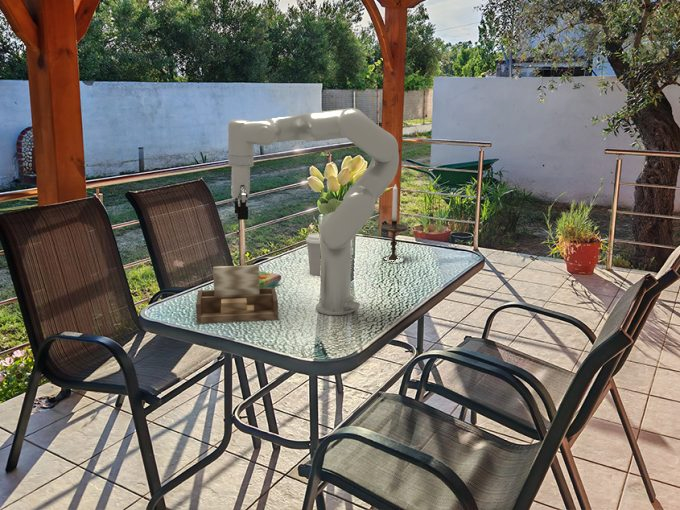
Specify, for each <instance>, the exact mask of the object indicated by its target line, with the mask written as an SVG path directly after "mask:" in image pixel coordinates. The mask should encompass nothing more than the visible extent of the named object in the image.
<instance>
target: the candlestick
mask: <svg viewBox="0 0 680 510" xmlns="http://www.w3.org/2000/svg"><path fill="white" fill-rule="evenodd" d="M397 180H398V178H397V177H395V178H394V181H393V182H394V186H393V187H392V209H391V210H392V211H391V212H392V213H391V214H392V215H391V219H389V221H390V222H391V223H386V224H382V225H381V226H380V230H382V231H384V232H390V233H391V234H392V236H391V237H392V239H391V241H390V242H389V243H390V246H391V248H390V250H391V254H390V255H387V256H383V257H382V259H383V260H384V261H387V260H385V259H384V258H386V257H388V256H390V257H389V260H396V259H398V258H397V256H398V255H396V250H397V249H398V248H397V247H396V246H397V245H398V242H397V241H396V238H397V237H396V234H397V233H401V232H406V231H408V225H404V224H399V223H398V222H399V221H400V219H397V218H398V193H399V192H398V187H397ZM391 262H392V261H391ZM393 262H394V261H393Z"/></svg>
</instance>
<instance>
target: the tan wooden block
mask: <svg viewBox="0 0 680 510" xmlns="http://www.w3.org/2000/svg"><path fill="white" fill-rule="evenodd" d="M249 313H254V305H247V300H246V298H239V299H221V315H228V314H249Z"/></svg>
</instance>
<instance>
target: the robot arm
mask: <svg viewBox="0 0 680 510" xmlns="http://www.w3.org/2000/svg"><path fill="white" fill-rule="evenodd" d="M227 125H228V127H227V130H228V131H227V133H228V139H227V140H228V143H227V144H228V145H227V146H228V166H229V167H231V175H230V176H231V182H230V183H231V187H230V194H231V197H232V200H234V214H235V215H236V214H237V215H236V216H237V220H239V221H243V220H248V219H249V205H248V204H249V203H248V199H249V198H250V191H251V190H250V189H251V188H250V186H251V185H250V184H251V177H250V176H251V168H252V167H254V166H255V165H254V158H255V157H254V145H257V146H263V147H267V146H271V145H273V144H274V143H283V142H291V141H292V142H293V141H306V142H320V141H329V140H338V139H348V140H349V142H351V143H352V144H353V145H355V146H356V147H358V149H360V150H362V151H363V152H364V153H366V154H367V155H368V156H370V157H371V160H370V163H369V165H368V167H367V168H366V169H365V171H364V172H363V173H362V175H361V176H360V177H359V178H358V179H357V180H356V181H355V182H354V184H352V186H351V187H350V188H349V189H348V190H347V191H346V192H345V194H344V196H343V200H342V201H341V203H340V204H338V206H337V208H336V209H335V210H334V211H332V212H329V213H327V214H326V215H325V216H324V217H323V218H322V219H321V222H320V223H321V224H320V230H319V233H320V237H321V276H320V302H318V303H317V304H315V310H316V311H317V312H318V313H320V314H322V315H327V316H343V315H348V314H352V313H353V312H354V311H358V310H359V308H360V302H358V301H354V296H353V295H351V276H352V275H351V274H352V273H351V272H352V271H351V265H352V264H351V263H352V240H353V239H354V238H355V237H356V236H357V234H358V233H359V232H360V231H361V230H362V228H363V227H364V226H365V225H366V224H367V223H368V221H369V220H371V217H372V216H373V214H374V211H375V209H376V208H375V207H376V202H377V201H378V200H379V199H380V197H381V196H382V195H383V194H384V192H385V191H386V190H387V188H388V187H389V186H390V185H391V183H392V182H393V180H395V178H396V175H397V174H398V169H399V163H400V153H399V144H398V141H397V139H396V138H395V136H394V135H393V134H391V133H390V132H388V131H387V130H385V129H384V128H382V127H381V126H380V125H378V124H377V123H376V122H374V121H373V120H372V119H371V118H369V117H368V116H367V115H366V114H365V113H363V112H362V111H361V110H360V109H358V108H354V107H350V108H349V107H348V108H341V109H340V108H339V109H333V110H324V111H315V112H307V113H302V114H299V115H291V116H282V117H276V118H275V117H274V118H266V119H262V120H255V121H252V120H248V119H231V120H229V122H228V124H227Z"/></svg>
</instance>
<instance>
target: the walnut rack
mask: <svg viewBox="0 0 680 510" xmlns="http://www.w3.org/2000/svg"><path fill="white" fill-rule="evenodd" d="M259 292H260V294H256V295H232V296H214V289H199V290H197V297H196V303H195V306H196V307H195V309H196V313H195V314H196V324H197V325H198V324H199V325H201V324H220V323H224V324H225V323H239V322H240V323H241V322H260V321H261V322H264V321H278V320H279V304H278V303H279V302H278V301H279V300H278V296H277V291H276V287H275V286H273V287H267V288H259ZM239 298H246V300H247V305H254V313H249V314H228V315H221V299H239Z"/></svg>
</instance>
